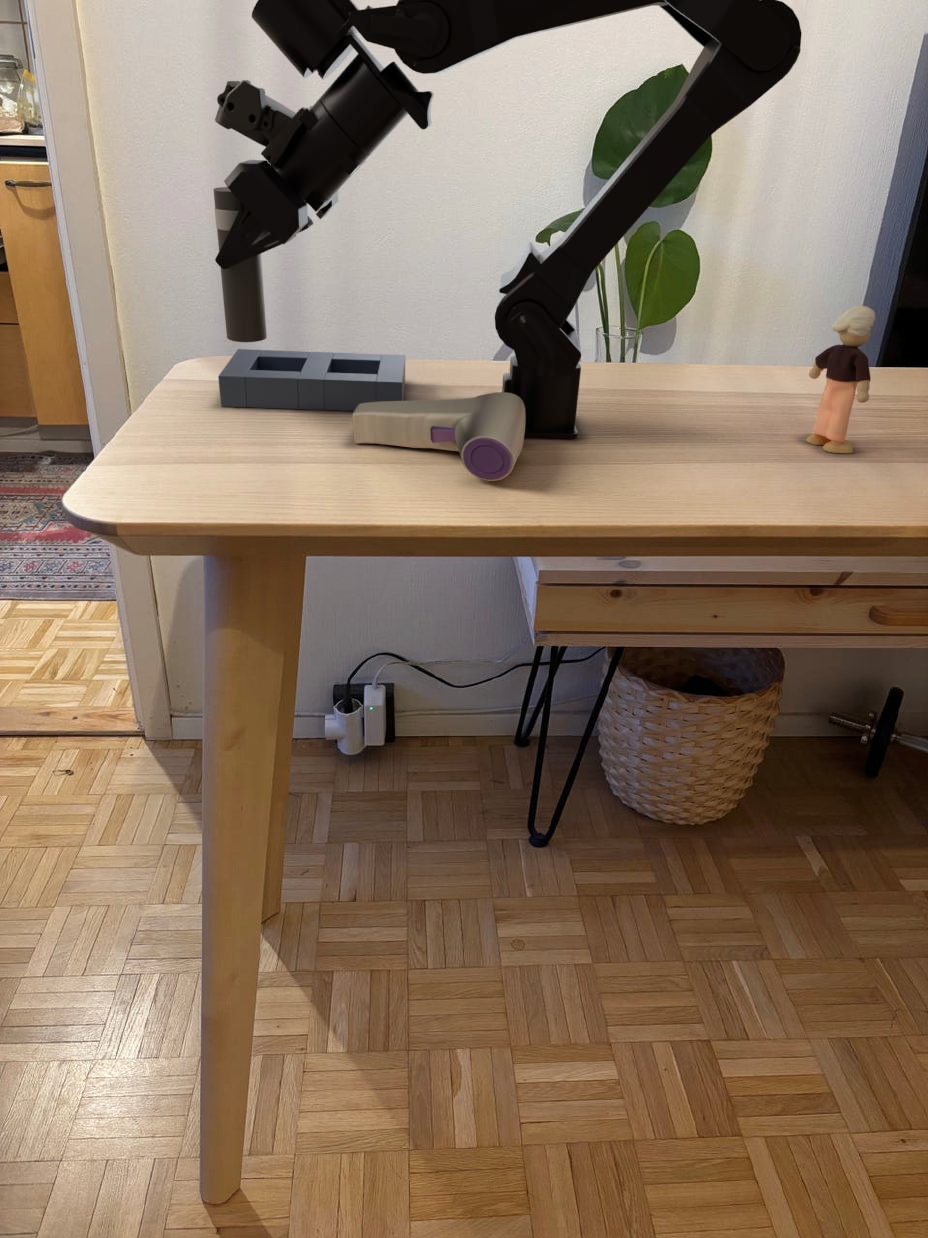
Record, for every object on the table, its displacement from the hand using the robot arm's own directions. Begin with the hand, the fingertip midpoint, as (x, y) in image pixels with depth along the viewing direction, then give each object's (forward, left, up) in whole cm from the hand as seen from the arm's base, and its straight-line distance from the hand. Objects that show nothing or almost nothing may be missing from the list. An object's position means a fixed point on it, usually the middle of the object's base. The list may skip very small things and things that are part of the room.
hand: (225, 261), depth 82 cm
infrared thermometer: (-19, +11, -14) cm, 26 cm away
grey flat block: (-7, -6, -13) cm, 16 cm away
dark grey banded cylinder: (-1, 0, -7) cm, 7 cm away
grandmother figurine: (-56, +4, -14) cm, 58 cm away
